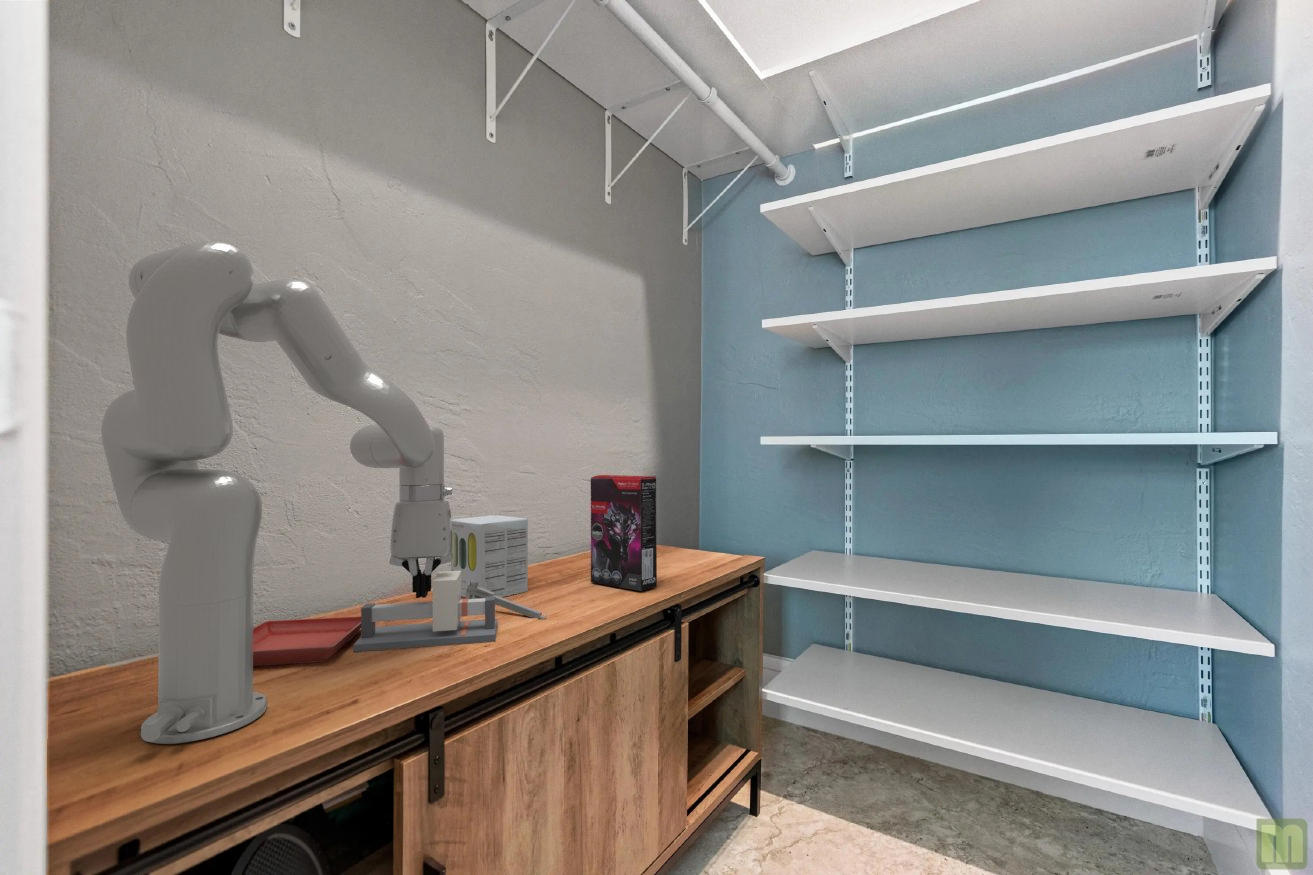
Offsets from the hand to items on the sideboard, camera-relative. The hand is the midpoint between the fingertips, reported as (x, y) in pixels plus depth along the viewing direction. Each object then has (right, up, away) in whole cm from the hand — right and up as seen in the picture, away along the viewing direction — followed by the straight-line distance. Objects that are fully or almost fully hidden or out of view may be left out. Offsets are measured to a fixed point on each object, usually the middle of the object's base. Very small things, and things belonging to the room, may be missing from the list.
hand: (422, 595), depth 106 cm
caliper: (+11, -8, +16) cm, 21 cm away
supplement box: (+3, -8, +33) cm, 34 cm away
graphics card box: (+34, -8, +39) cm, 53 cm away
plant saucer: (-19, -8, -6) cm, 22 cm away
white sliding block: (+4, -5, +1) cm, 7 cm away
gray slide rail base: (+1, -8, 0) cm, 8 cm away
